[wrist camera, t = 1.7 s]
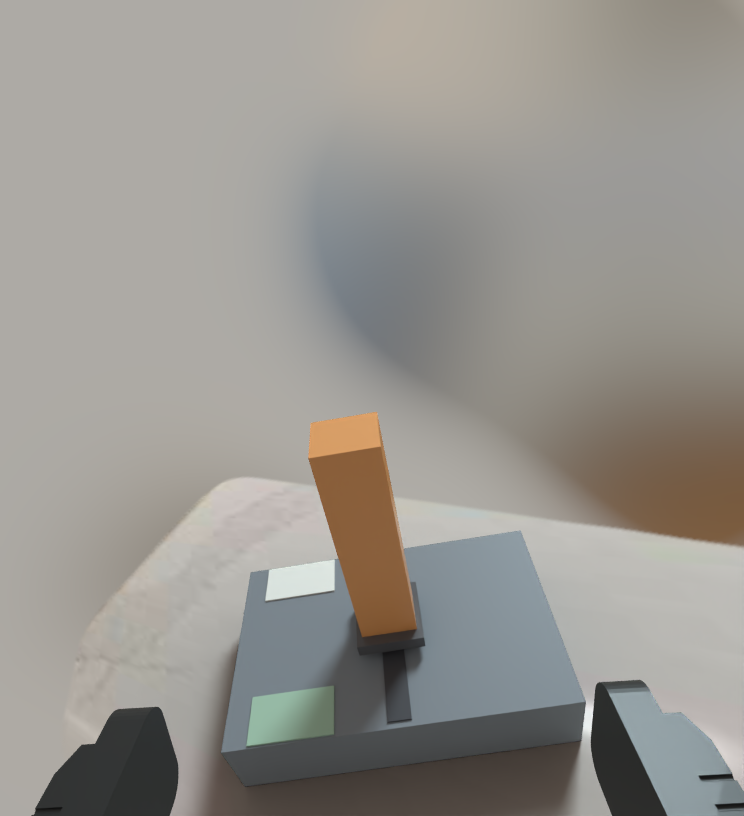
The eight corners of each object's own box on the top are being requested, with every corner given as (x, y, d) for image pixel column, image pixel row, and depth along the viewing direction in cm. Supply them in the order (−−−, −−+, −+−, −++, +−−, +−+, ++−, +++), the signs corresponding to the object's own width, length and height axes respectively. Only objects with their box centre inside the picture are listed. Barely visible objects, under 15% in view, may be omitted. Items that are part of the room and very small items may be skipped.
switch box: (581, 740, 28) (585, 700, 26) (244, 786, 29) (220, 751, 26) (520, 570, 37) (520, 529, 35) (267, 608, 38) (250, 571, 35)
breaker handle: (425, 645, 29) (389, 453, 21) (359, 655, 29) (300, 468, 21) (417, 590, 32) (382, 404, 24) (357, 599, 32) (304, 416, 24)
